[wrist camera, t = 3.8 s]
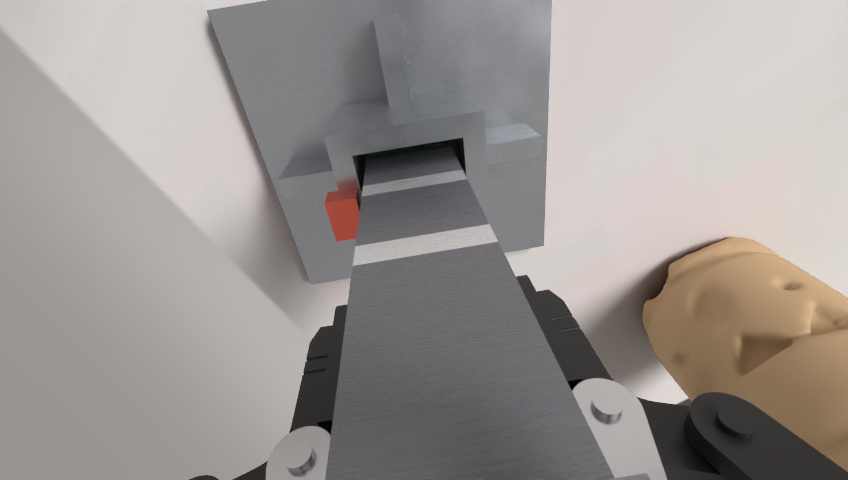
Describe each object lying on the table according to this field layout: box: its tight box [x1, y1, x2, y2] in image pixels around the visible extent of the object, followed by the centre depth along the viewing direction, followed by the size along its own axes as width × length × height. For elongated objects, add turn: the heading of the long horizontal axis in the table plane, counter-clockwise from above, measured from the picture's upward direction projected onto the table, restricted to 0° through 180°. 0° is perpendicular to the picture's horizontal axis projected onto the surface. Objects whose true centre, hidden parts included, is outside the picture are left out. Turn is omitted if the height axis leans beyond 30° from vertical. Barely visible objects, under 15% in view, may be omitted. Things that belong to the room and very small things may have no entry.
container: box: [642, 237, 848, 472], centre depth 27 cm, size 13×13×18 cm
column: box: [325, 140, 650, 480], centre depth 13 cm, size 6×4×20 cm, turn 8°
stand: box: [207, 0, 552, 284], centre depth 21 cm, size 18×18×9 cm
